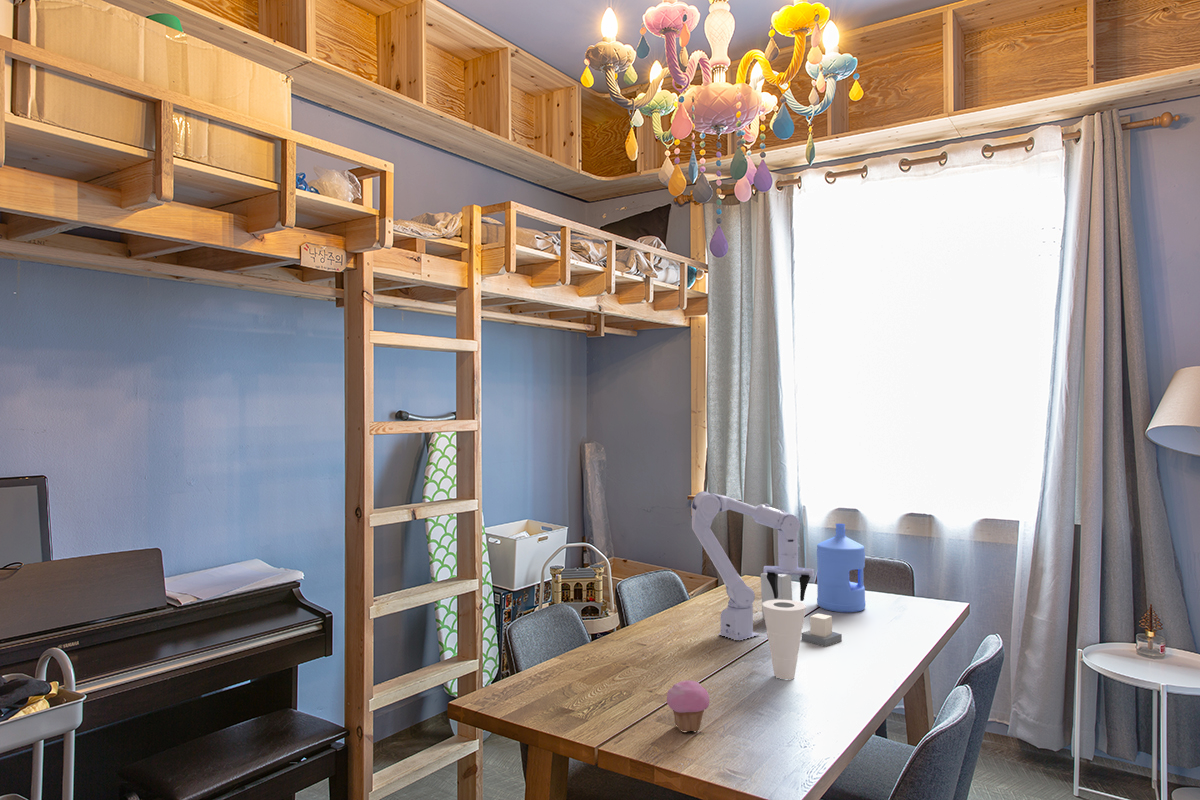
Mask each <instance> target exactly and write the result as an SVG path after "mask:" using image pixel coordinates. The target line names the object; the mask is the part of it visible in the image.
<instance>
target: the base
mask: <svg viewBox="0 0 1200 800" xmlns="http://www.w3.org/2000/svg"><path fill="white" fill-rule="evenodd" d="M842 635H843V634H842V633H839V632H835V631H832V634H830V635H828V636H826V637H823V636H818V635H814V634H810V630H807V631H804V632H803V631H802V634H801V641H804V640H805V642H807V641H808V643H811V642H812V644H814V643H815V645H818V644H819V645H818V646H821V645H823V646H822V647H828V646H831V645H833V643H834V644H837V643H840V642H842V641H843V639H842V638H843V637H842ZM839 641H840V642H839ZM836 642H837V643H836ZM830 644H831V645H830ZM827 645H828V646H827Z"/></svg>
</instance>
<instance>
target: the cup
mask: <svg viewBox="0 0 1200 800" xmlns="http://www.w3.org/2000/svg"><path fill="white" fill-rule="evenodd" d="M762 606H763V611H764V617H765V619H764V622H765V627H766V632H767V639H768V646H769V649H770V650H769V651H770V658H771V665H772V668H773V674H774V675H775V676H776V677H777V678H781V679H793V678H794V679H795V677H796V669H797V663H798V657H799V656H798V655H799V652H800V645H801V641H802V633H803V631H802V630H803V629H804V620H805V615H806V607H807V606H806V604H805V603H803V602H802V601H797V600H793V599H792V600H768V601H765V602H763V603H762V602H761V607H762ZM775 676H774V677H775ZM777 678H776V679H777ZM794 679H793V680H794Z"/></svg>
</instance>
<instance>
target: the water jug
mask: <svg viewBox="0 0 1200 800" xmlns="http://www.w3.org/2000/svg"><path fill="white" fill-rule="evenodd" d="M865 551H866V550H865V546H864V545H863V544H861V543H860V542H857V541H855V540H853V539H852V538H850V537H847V535H846V524H845V523H835V535H834V536H833V537H830V538H828V539H825V540H823V541H820V542H819V543H817V544H816V561H817V562H816V563H817V564H816V581H817V586H816V587H817V589H816V590H817V591H816V592H817V593H816V594H817V598H816V604H817V606H818V607H820V608H821V609H823V610H826V611H830V612H836V613H857V612H861V611H863V610H865V608H866V586H865V585H864V584H865V583H864V582H865V581H864V568H865V567H866V566H865V564H866V562H865V560H866V552H865ZM854 570H857V582H854V581H850V572H851V571H854Z"/></svg>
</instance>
